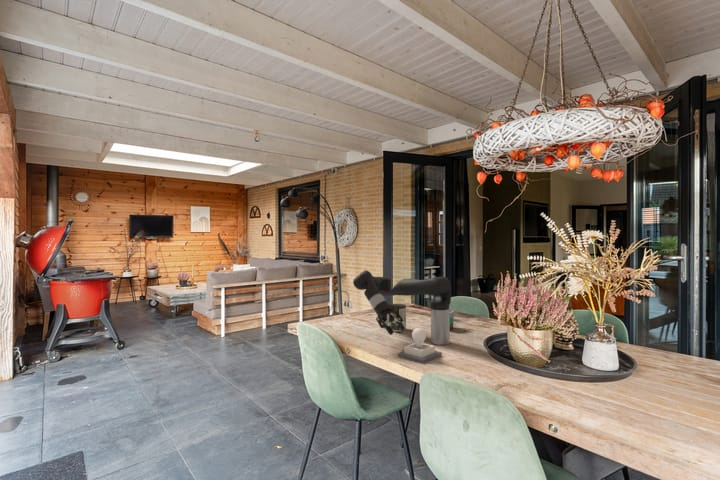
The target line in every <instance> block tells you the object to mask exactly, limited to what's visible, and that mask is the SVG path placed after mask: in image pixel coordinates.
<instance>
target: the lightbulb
mask: <svg viewBox="0 0 720 480" xmlns="http://www.w3.org/2000/svg"><path fill="white" fill-rule="evenodd" d="M411 337H412V339H413V341H414V343H415V344H416V349H420V350H422V345H423V343H424V342H425V340H426V339H427V333H426V331H425V330H424V329H423V328H421V327H417V328H415V329H413V331H412V332H411Z"/></svg>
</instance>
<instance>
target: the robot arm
mask: <svg viewBox="0 0 720 480" xmlns="http://www.w3.org/2000/svg"><path fill="white" fill-rule="evenodd" d="M352 283H353V286H354V288H356V289H357V290H360V291H364V296H365V298H366V299H367V300H368V302H369V304H370V306H371V307H372V309H373V310H374V313H375V314H376V315H377V316H376V318H375V321H376V322H377V324H378V325H379V327H380V328H381V329H384V330H386V331H387V333H388V334H389V335H390V336H392V335H393V334H394V332H395V331H393V330H392V329H391V327H390V326H389V323H391V322H393V323H396V324H397V325H398V326H399V328H400V329H401V332H404V330H405V327H404V326H403V324H402V321H403V319H402V317H401V316H400V315H399V313H398V312H397V311H395V312H394V313H393V312H392V311H391V307H390V306H389V305H390V304H389V303H388V301H387V300H386V298H385V297H390V296H391V297H392V296H412V297H413V296H419V295H427V296H432V297H434V300H432V302H430V338H431V339H430V342H431V344H434V345H438V346H439V345H441V346H446V345H449V344H450V343H451V338H450V337H451V332H450V331H451V330H450V323H449V311H450V305H451V302H452V299H451V298H452V285H451V284H452V283H451V281H450V279H449V278H448V277H446V276H436V277H431V278H426V279H416V278H403V279H401V280H399V281H398V282H396V284H395V285H393V287H392V279H391V278H389V277H388V276H387V277H385V276H373V274H372V273H371V272H370V271H369V270H366V269H365V270H363V271H361V272H360V273H359V274H358V275H357V276H356V277H355V278H354V279H353V281H352ZM394 318H395V320H394ZM399 318H400V320H399ZM397 321H398V322H397ZM405 331H406V330H405Z"/></svg>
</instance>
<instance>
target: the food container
mask: <svg viewBox="0 0 720 480" xmlns="http://www.w3.org/2000/svg"><path fill="white" fill-rule="evenodd" d="M455 316H456V312H455V311H454V310H453V309H449V323H450V331H451V330H454V321H455V319H454V318H455Z"/></svg>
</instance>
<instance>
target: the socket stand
mask: <svg viewBox="0 0 720 480" xmlns="http://www.w3.org/2000/svg"><path fill="white" fill-rule="evenodd" d="M435 346H436V345H432V344H428V343H424V342H423V345H422V350H420V349H416V344H415V342H413V343H410V344H408V345H405V346H404V350H402V351H400V352H397V357H399V358H401V359H402V358H403V359H405V360H408V361H413V362H416V363H418V364H419V363H420V364H425V363H428V362H430V361H434V359H438V358H440V357H442V355H443V354H442V352H441V351H438V350H437V351H436V348H435Z"/></svg>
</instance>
